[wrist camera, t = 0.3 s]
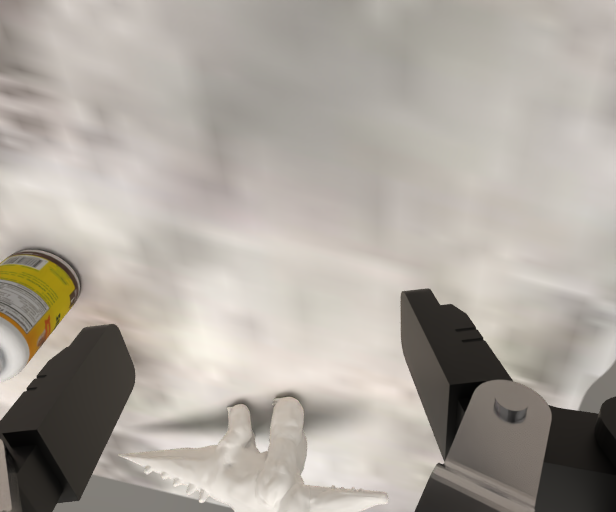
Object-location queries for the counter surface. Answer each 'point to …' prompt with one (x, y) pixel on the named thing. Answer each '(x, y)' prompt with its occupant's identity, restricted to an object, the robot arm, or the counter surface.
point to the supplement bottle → (31, 304)
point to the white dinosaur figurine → (256, 468)
